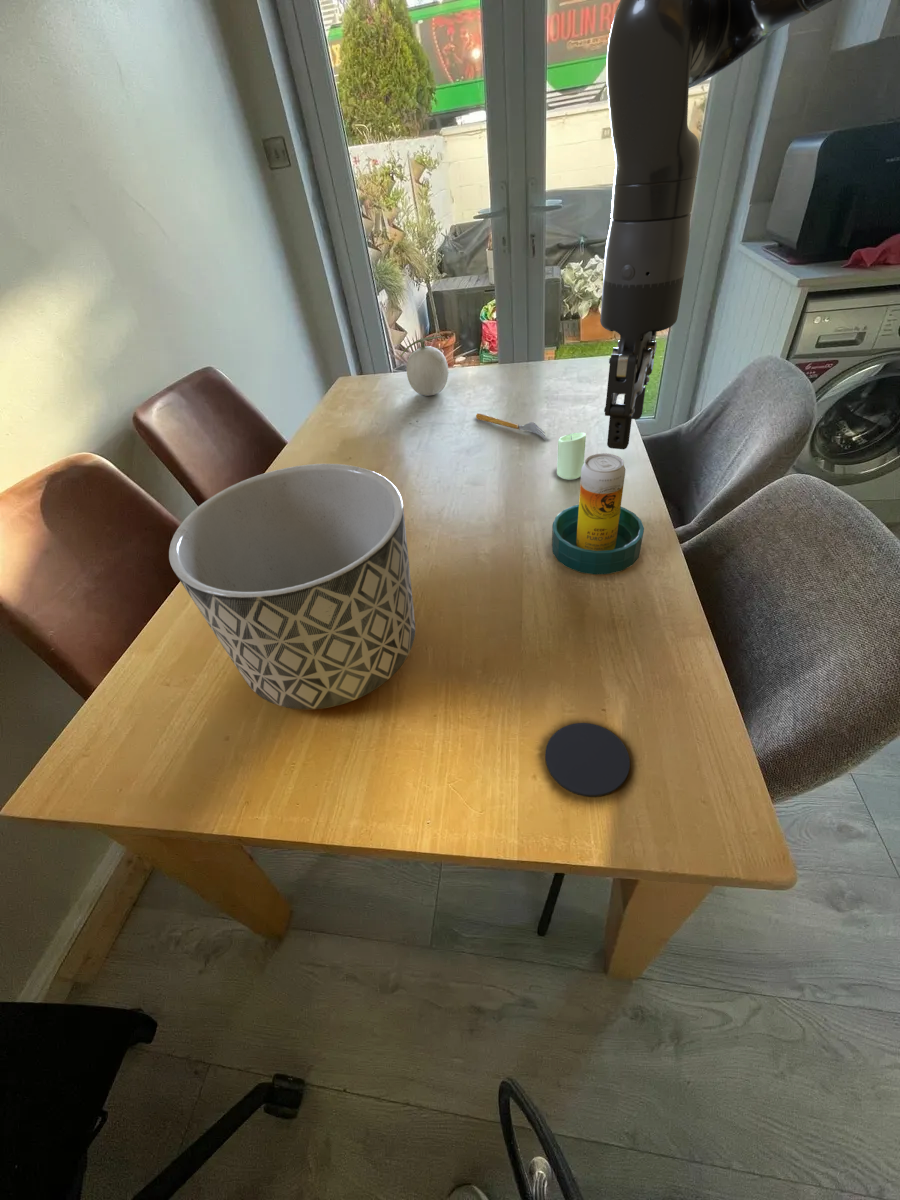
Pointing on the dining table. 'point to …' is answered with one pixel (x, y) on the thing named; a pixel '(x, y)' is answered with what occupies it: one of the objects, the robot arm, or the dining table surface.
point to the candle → (571, 455)
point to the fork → (511, 424)
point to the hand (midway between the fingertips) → (625, 431)
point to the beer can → (600, 502)
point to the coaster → (587, 759)
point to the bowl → (591, 559)
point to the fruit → (427, 369)
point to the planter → (303, 581)
